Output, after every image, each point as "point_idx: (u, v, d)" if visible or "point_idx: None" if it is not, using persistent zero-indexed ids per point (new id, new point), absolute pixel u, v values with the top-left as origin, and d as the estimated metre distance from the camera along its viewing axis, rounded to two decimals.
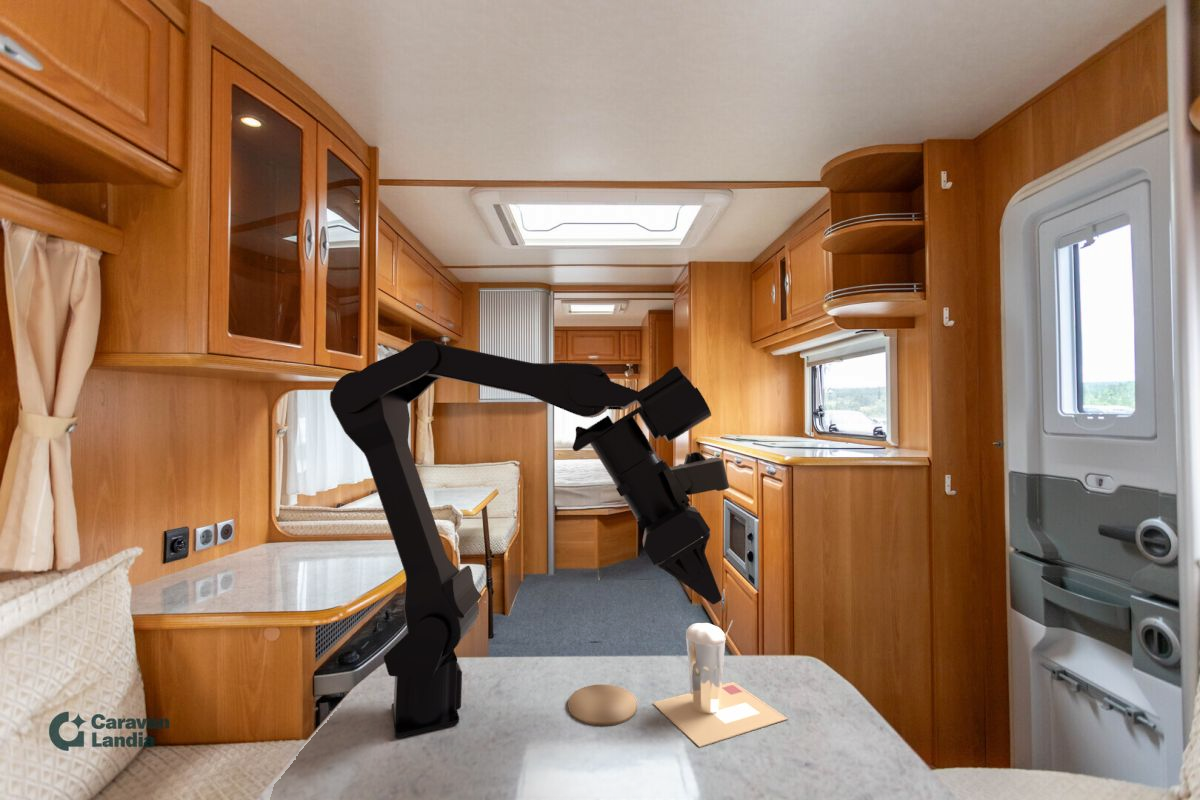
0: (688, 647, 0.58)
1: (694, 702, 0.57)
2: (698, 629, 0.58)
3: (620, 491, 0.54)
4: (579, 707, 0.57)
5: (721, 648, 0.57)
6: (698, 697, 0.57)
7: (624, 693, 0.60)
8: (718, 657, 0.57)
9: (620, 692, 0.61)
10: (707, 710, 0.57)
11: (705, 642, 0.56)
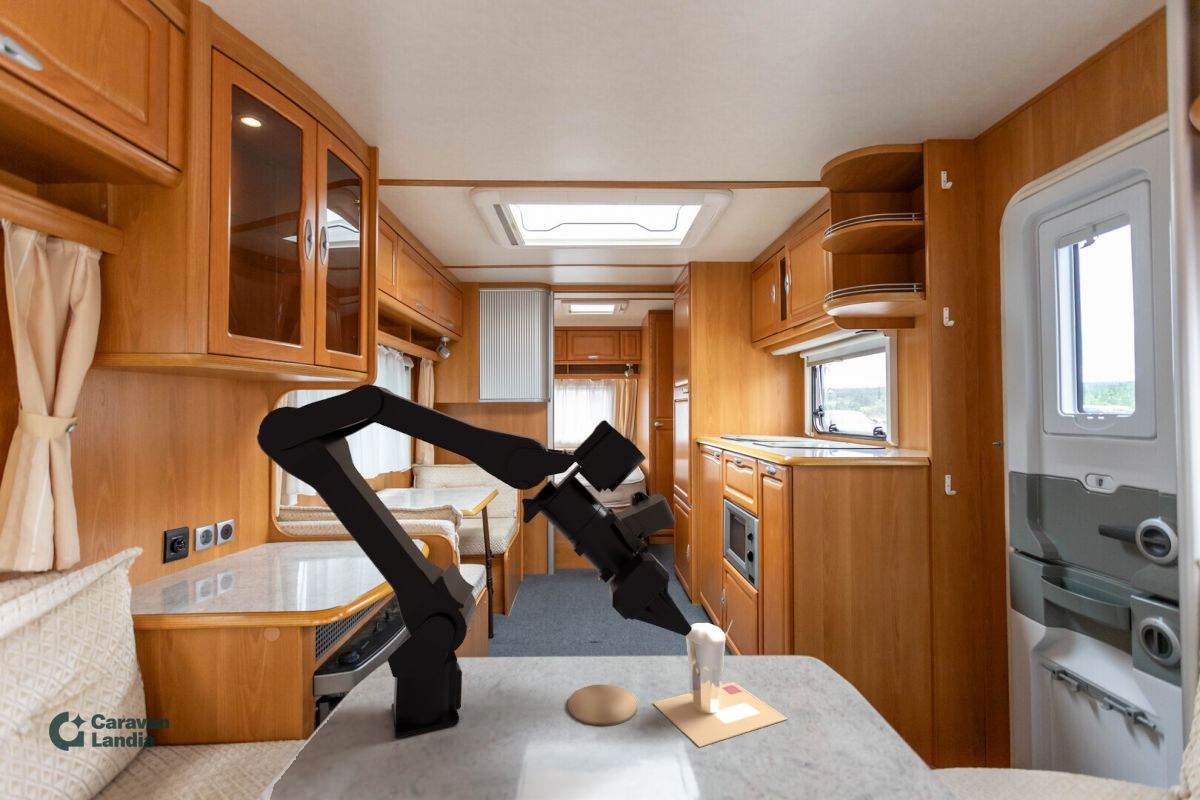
0: (688, 647, 0.58)
1: (694, 702, 0.57)
2: (698, 629, 0.58)
3: (578, 551, 0.56)
4: (579, 707, 0.57)
5: (721, 648, 0.57)
6: (698, 697, 0.57)
7: (624, 693, 0.60)
8: (718, 657, 0.57)
9: (620, 692, 0.61)
10: (707, 710, 0.57)
11: (705, 642, 0.56)
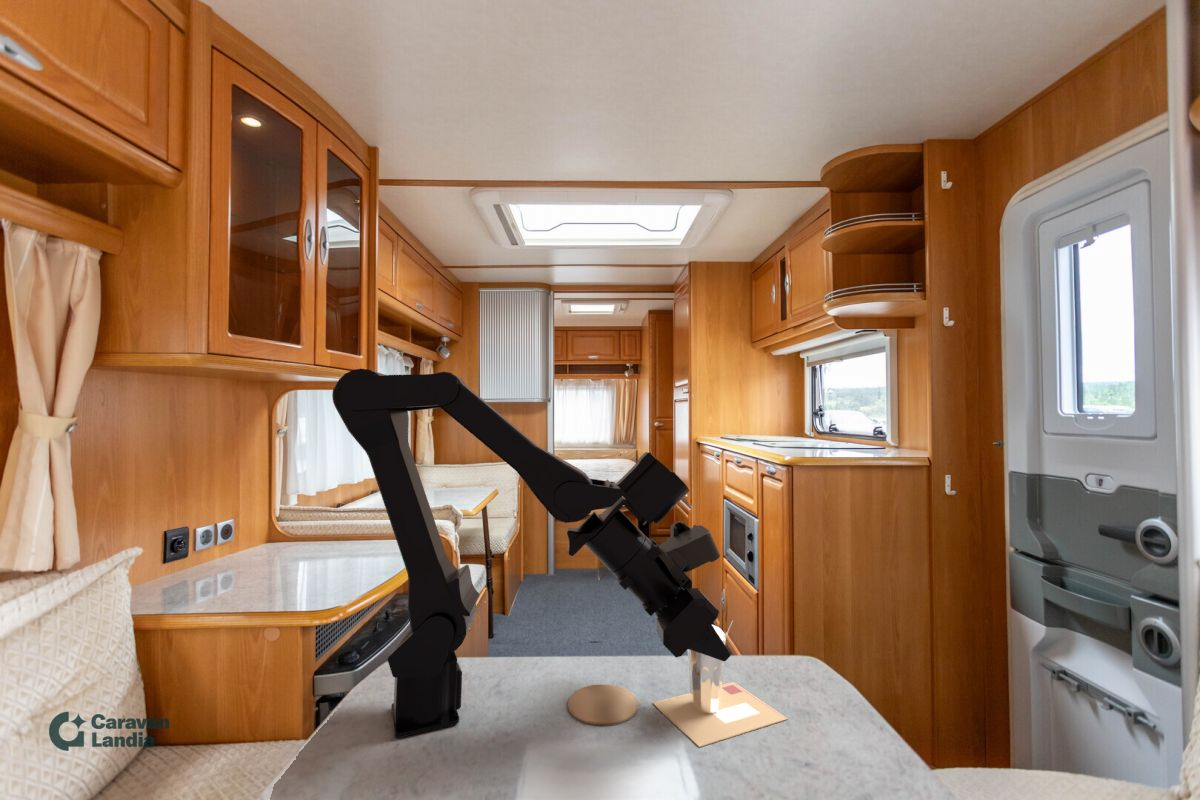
0: None
1: (694, 702, 0.57)
2: None
3: (623, 585, 0.56)
4: (579, 707, 0.57)
5: None
6: (698, 697, 0.57)
7: (624, 693, 0.60)
8: None
9: (620, 692, 0.61)
10: (707, 710, 0.57)
11: None
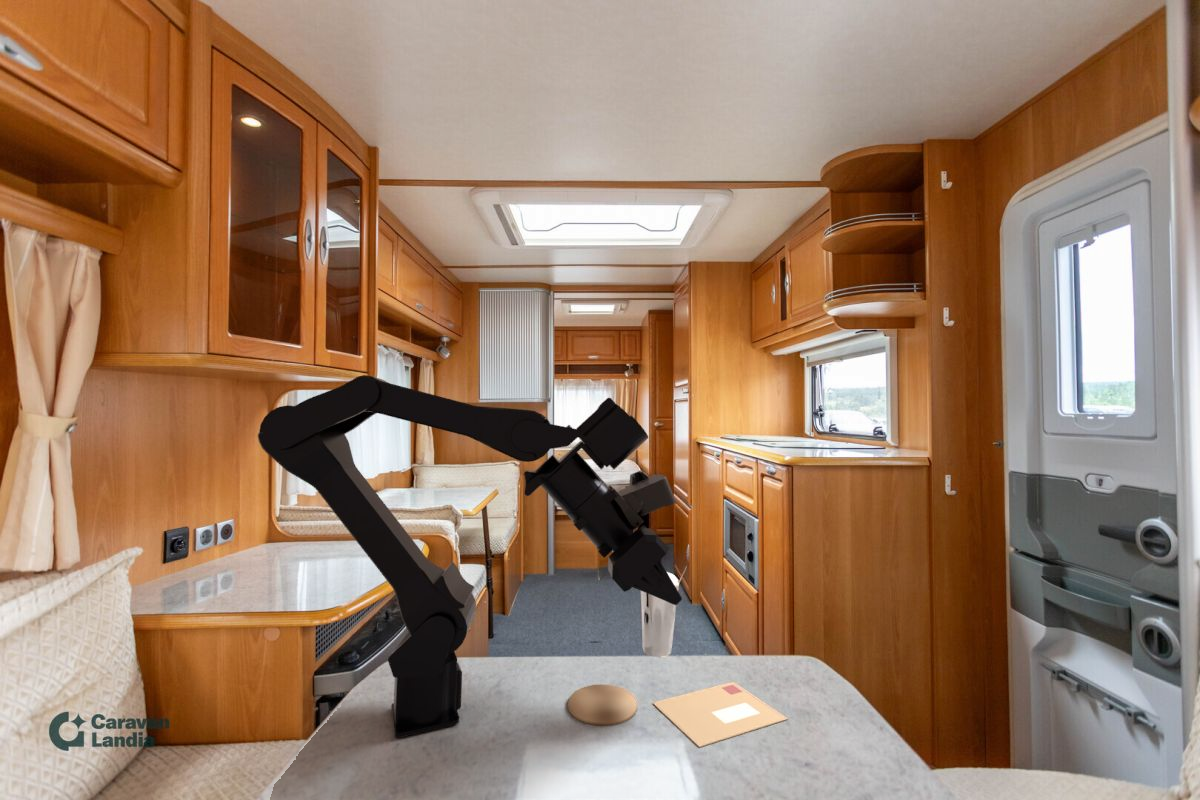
0: (641, 592, 0.58)
1: (645, 646, 0.58)
2: None
3: (577, 526, 0.56)
4: (579, 707, 0.57)
5: None
6: (649, 641, 0.57)
7: (624, 693, 0.60)
8: None
9: (620, 692, 0.61)
10: (657, 654, 0.57)
11: None
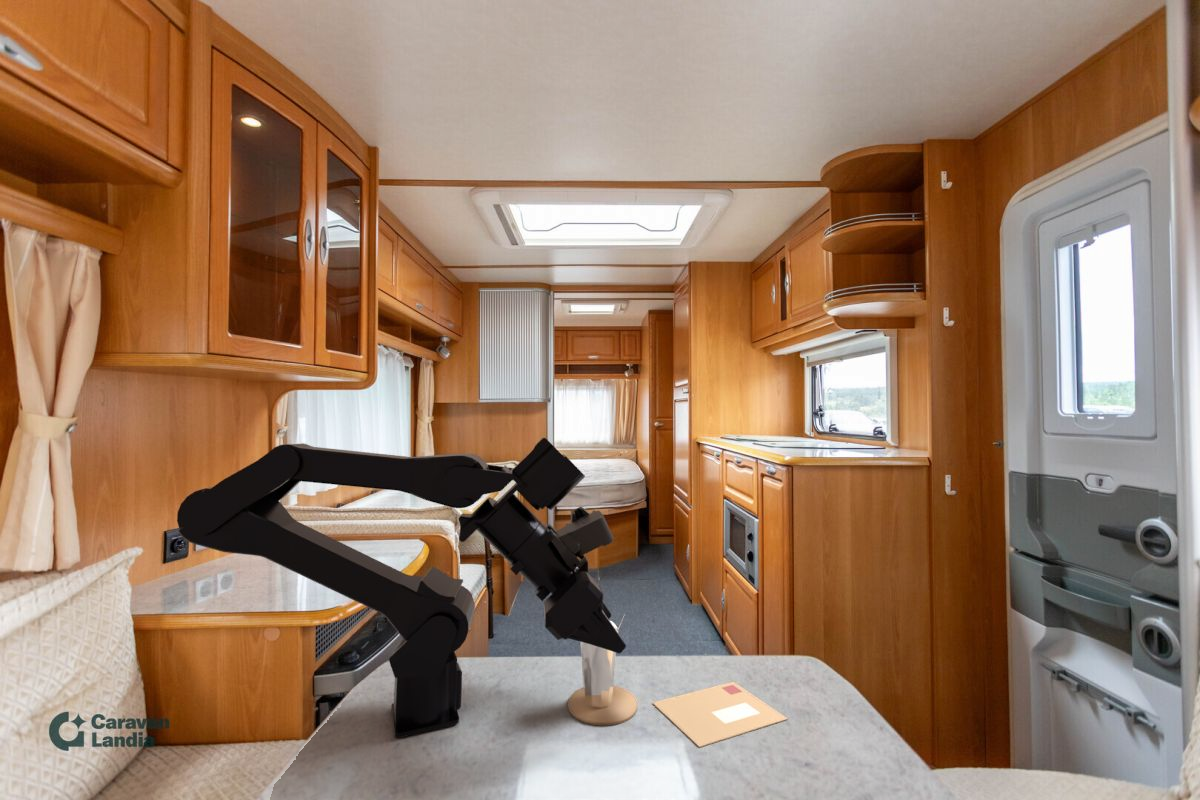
0: (581, 642, 0.58)
1: (585, 697, 0.58)
2: None
3: (514, 570, 0.55)
4: (579, 707, 0.57)
5: None
6: (589, 692, 0.57)
7: (624, 693, 0.60)
8: (608, 651, 0.57)
9: (620, 692, 0.61)
10: (597, 705, 0.57)
11: None
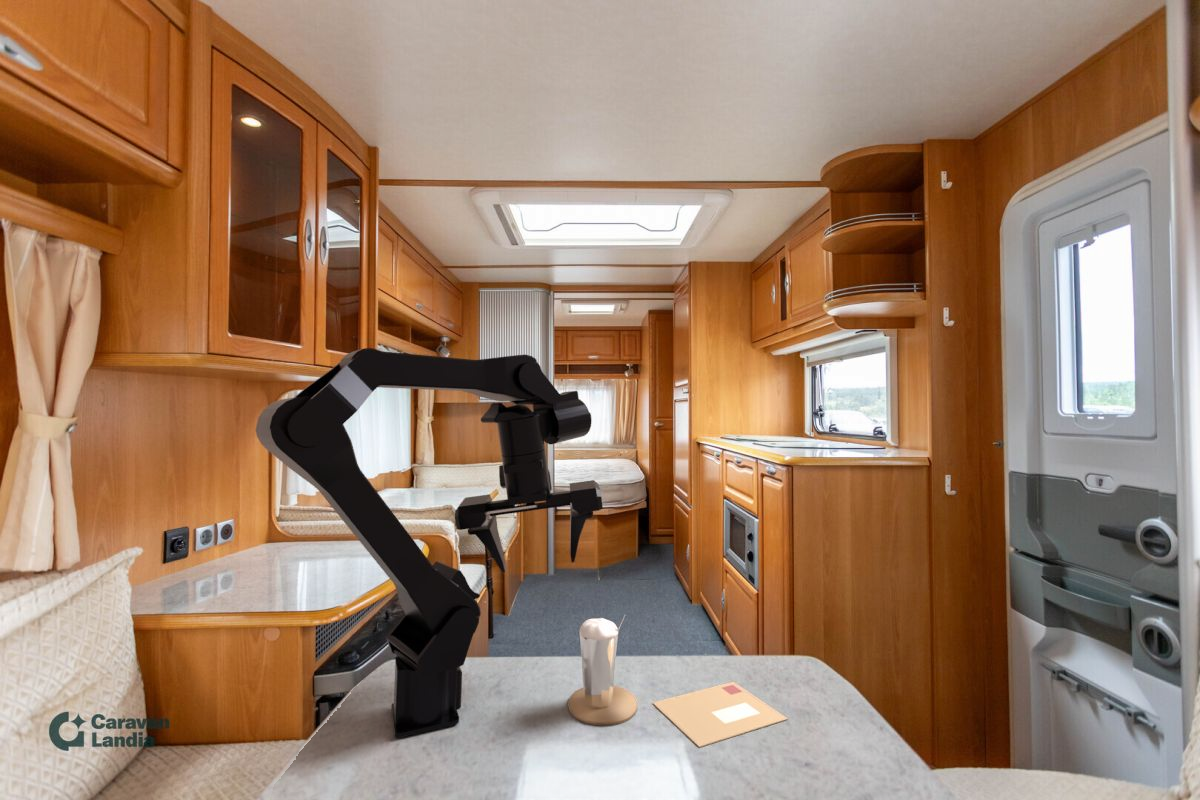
0: (581, 643, 0.58)
1: (585, 697, 0.58)
2: (590, 624, 0.58)
3: (542, 464, 0.64)
4: (579, 707, 0.57)
5: (612, 643, 0.57)
6: (589, 692, 0.57)
7: (624, 693, 0.60)
8: (608, 651, 0.57)
9: (620, 692, 0.61)
10: (597, 705, 0.57)
11: (596, 637, 0.57)
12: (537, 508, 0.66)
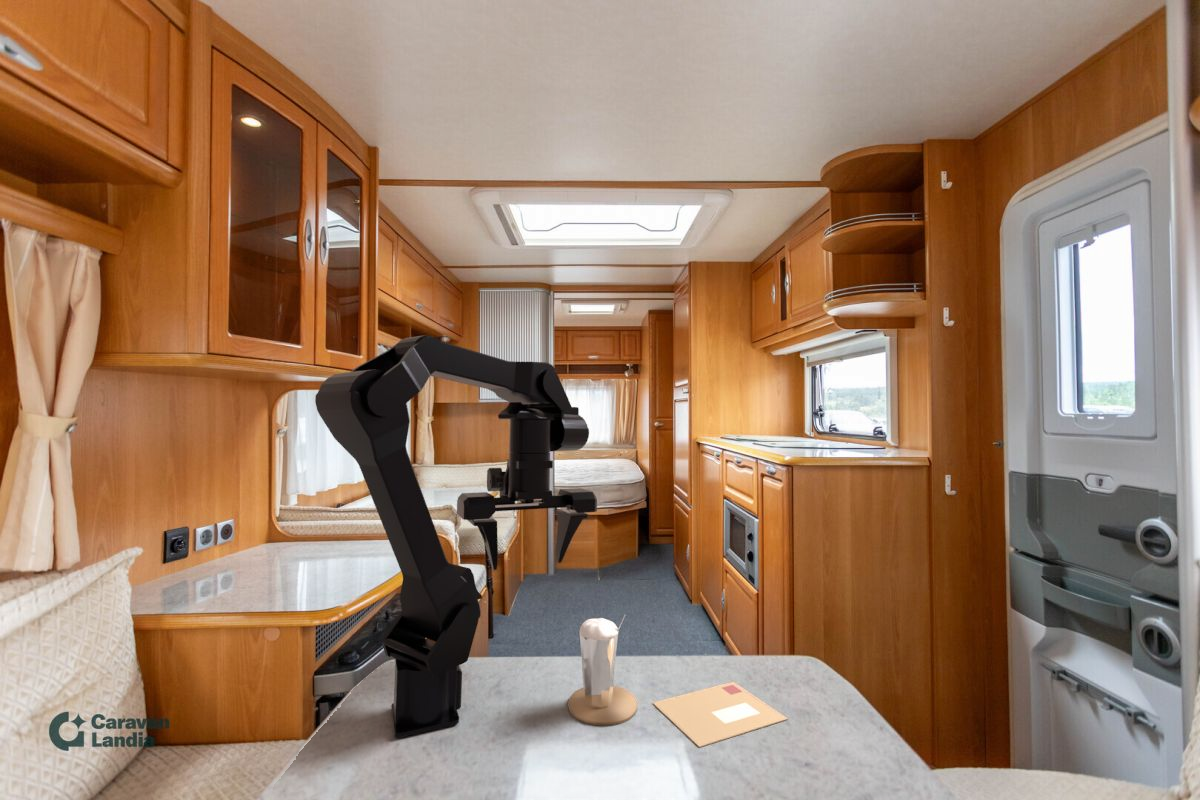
0: (581, 643, 0.58)
1: (585, 697, 0.58)
2: (591, 624, 0.58)
3: (552, 464, 0.69)
4: (579, 707, 0.57)
5: (612, 642, 0.57)
6: (589, 692, 0.57)
7: (624, 693, 0.60)
8: (608, 651, 0.57)
9: (620, 692, 0.61)
10: (597, 705, 0.57)
11: (596, 637, 0.57)
12: (535, 507, 0.70)
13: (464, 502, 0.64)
